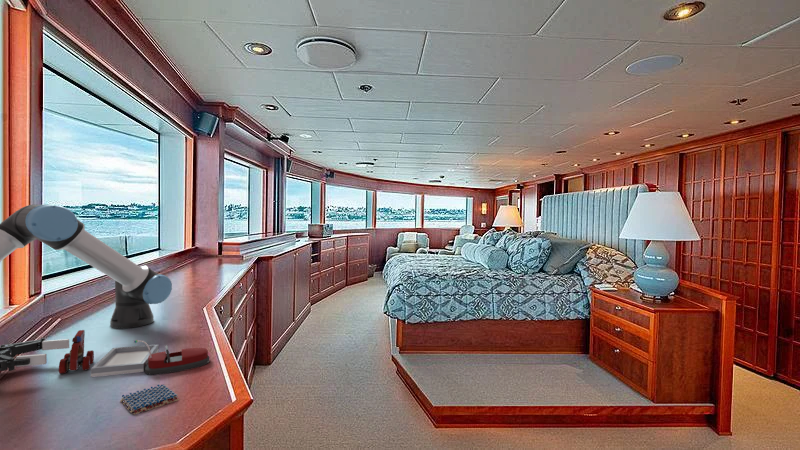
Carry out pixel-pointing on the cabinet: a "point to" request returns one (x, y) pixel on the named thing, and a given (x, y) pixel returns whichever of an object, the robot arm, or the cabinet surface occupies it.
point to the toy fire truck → (76, 355)
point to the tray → (124, 360)
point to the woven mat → (149, 398)
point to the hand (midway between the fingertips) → (58, 350)
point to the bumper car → (175, 360)
